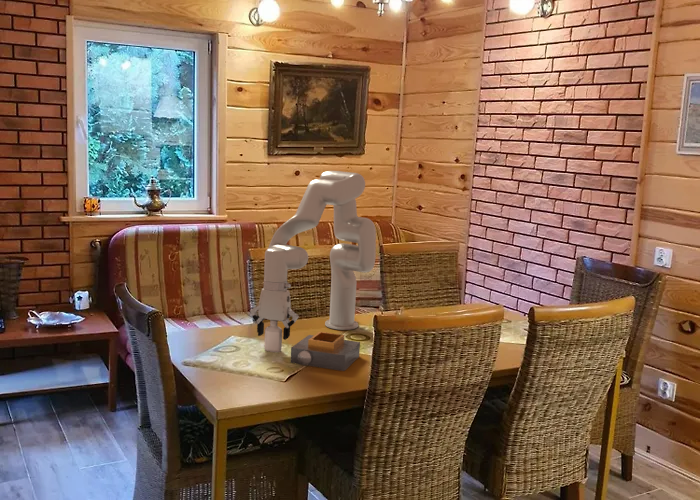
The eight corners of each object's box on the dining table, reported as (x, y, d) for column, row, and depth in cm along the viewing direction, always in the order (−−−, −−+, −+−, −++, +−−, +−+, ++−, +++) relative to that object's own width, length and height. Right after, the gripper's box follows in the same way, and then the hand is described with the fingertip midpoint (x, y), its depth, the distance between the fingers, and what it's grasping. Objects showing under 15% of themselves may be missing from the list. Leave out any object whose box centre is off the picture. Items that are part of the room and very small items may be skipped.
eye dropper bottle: (272, 353, 237) (274, 318, 235) (262, 349, 241) (263, 314, 239) (283, 351, 240) (284, 316, 238) (272, 347, 244) (274, 312, 242)
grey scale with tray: (309, 348, 246) (310, 326, 244) (360, 355, 240) (361, 333, 239) (289, 363, 228) (290, 340, 227) (343, 372, 223) (344, 348, 222)
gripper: (304, 286, 238) (301, 337, 241) (255, 280, 243) (254, 330, 246) (295, 291, 231) (293, 343, 234) (246, 284, 236) (244, 336, 239)
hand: (273, 336), depth 240 cm, fingers open, 8 cm apart
